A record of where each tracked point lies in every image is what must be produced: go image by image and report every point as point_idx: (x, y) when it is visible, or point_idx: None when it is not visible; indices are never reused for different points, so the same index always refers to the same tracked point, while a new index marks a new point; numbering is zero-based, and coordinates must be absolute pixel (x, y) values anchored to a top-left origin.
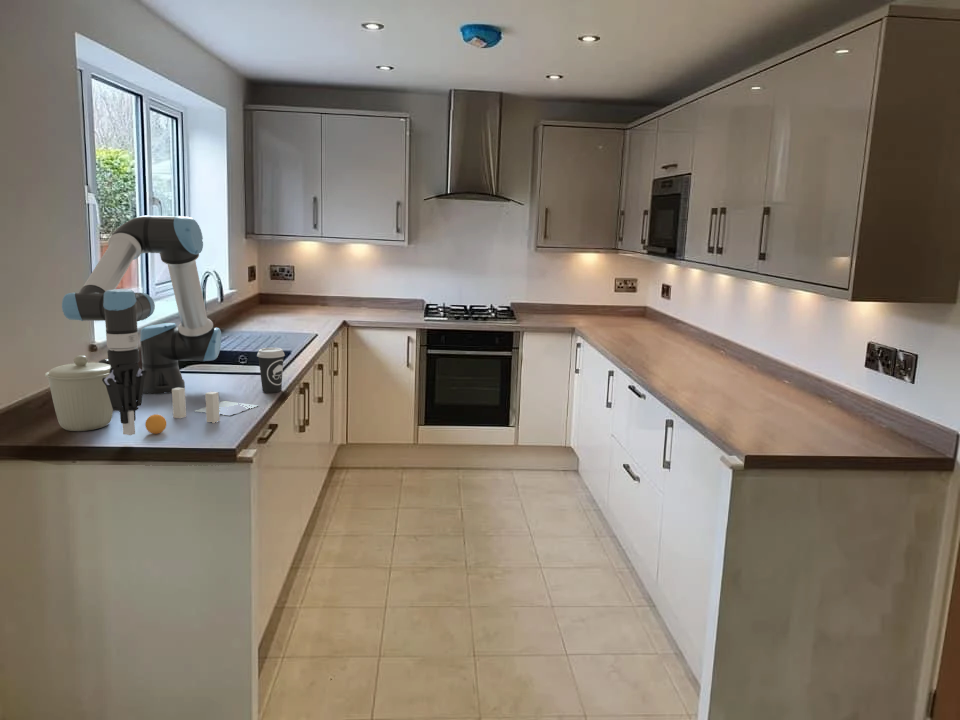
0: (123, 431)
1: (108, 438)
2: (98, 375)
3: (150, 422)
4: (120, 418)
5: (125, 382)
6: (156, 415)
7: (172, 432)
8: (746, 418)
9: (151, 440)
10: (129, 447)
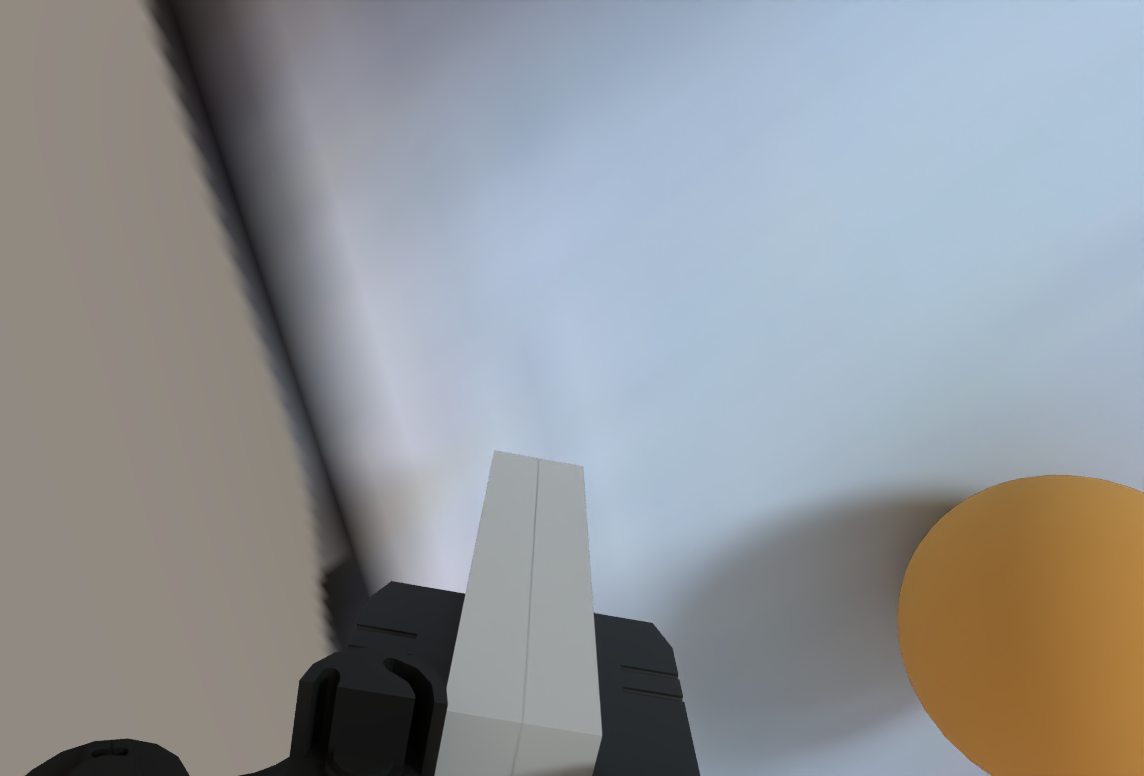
0: (490, 476)
1: (659, 34)
2: None
3: (955, 676)
4: (351, 641)
5: None
6: (1141, 771)
7: None
8: None
9: (685, 659)
10: (356, 578)
